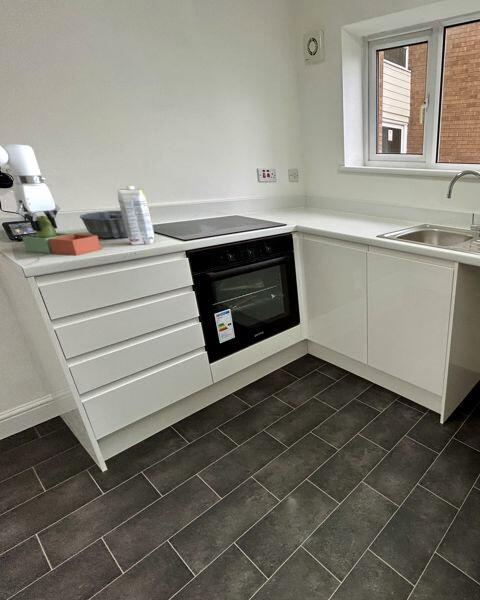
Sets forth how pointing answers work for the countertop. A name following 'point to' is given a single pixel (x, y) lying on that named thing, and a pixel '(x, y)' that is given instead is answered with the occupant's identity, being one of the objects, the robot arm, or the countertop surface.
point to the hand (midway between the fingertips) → (45, 229)
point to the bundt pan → (105, 224)
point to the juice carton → (136, 215)
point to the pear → (45, 228)
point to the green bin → (39, 243)
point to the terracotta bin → (74, 244)
